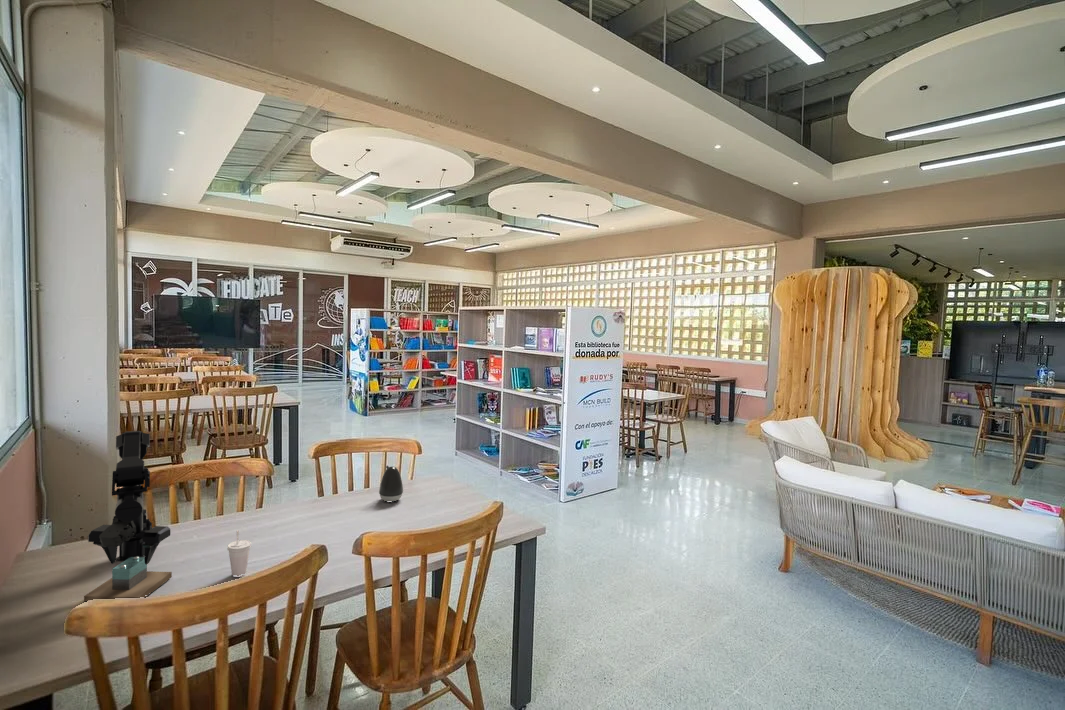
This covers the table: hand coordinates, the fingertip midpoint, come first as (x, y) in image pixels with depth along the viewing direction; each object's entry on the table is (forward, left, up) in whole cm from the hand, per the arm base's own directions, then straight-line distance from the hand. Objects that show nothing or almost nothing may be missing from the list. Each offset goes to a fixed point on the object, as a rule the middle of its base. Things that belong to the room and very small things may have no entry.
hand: (130, 563), depth 145 cm
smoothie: (+25, +10, -8) cm, 28 cm away
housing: (0, 0, -6) cm, 6 cm away
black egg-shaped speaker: (+56, +78, -8) cm, 96 cm away
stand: (0, 0, -8) cm, 8 cm away
